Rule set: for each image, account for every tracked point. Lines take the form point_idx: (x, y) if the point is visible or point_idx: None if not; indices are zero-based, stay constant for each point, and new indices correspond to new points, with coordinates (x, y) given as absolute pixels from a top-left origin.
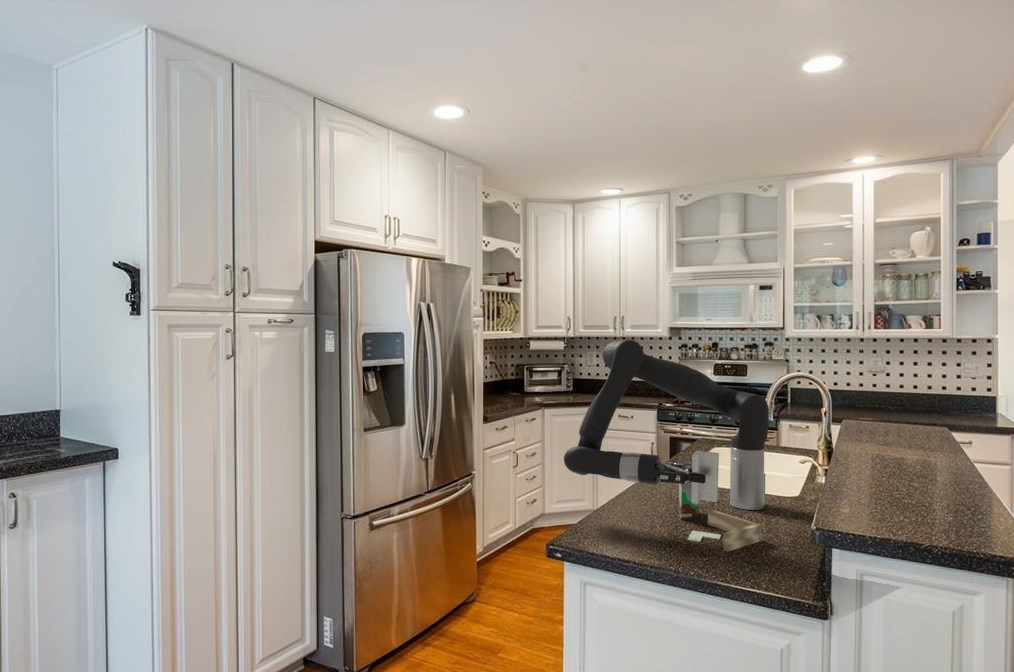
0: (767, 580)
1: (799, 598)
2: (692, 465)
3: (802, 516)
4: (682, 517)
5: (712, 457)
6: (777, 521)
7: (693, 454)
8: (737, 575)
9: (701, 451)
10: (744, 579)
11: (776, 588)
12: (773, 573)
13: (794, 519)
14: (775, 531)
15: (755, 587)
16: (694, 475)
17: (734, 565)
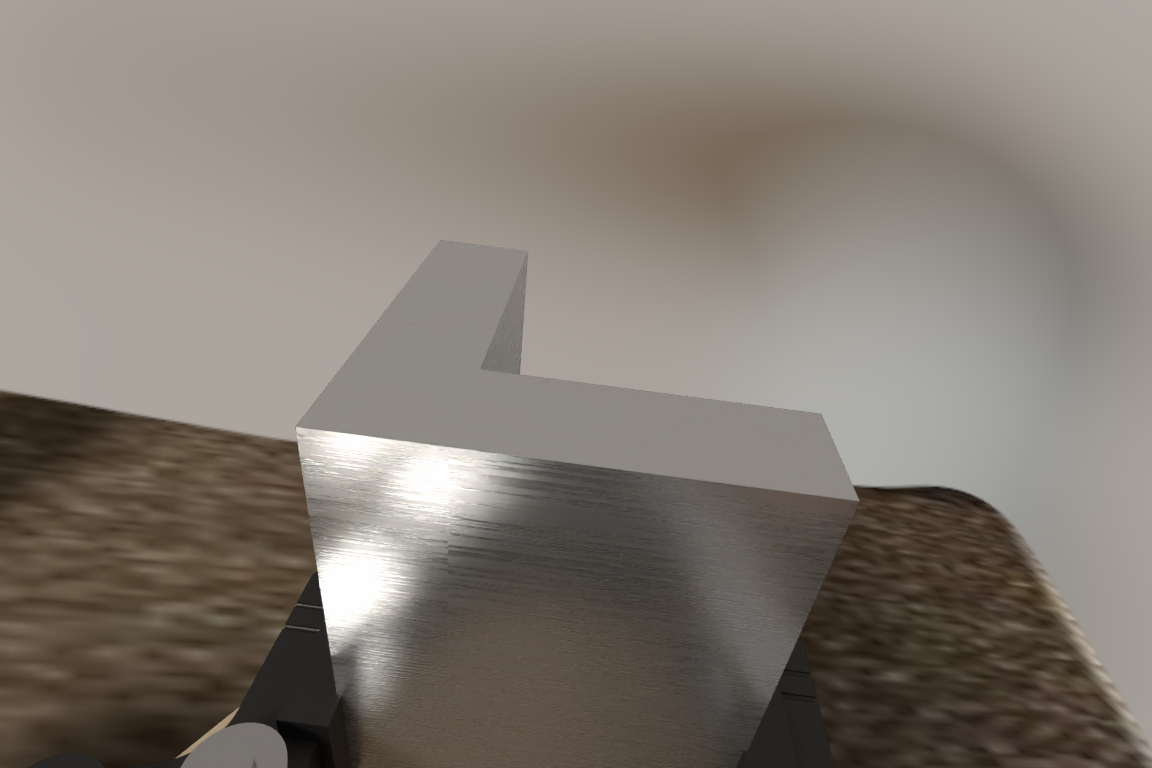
0: (951, 609)
1: (1014, 538)
2: (783, 665)
3: (62, 409)
4: None
5: (514, 337)
6: (125, 495)
7: (819, 483)
8: (1010, 722)
9: (377, 362)
10: (1027, 693)
11: (999, 589)
12: (858, 583)
13: (104, 437)
14: (296, 520)
15: (1067, 656)
16: (812, 722)
17: (894, 731)
